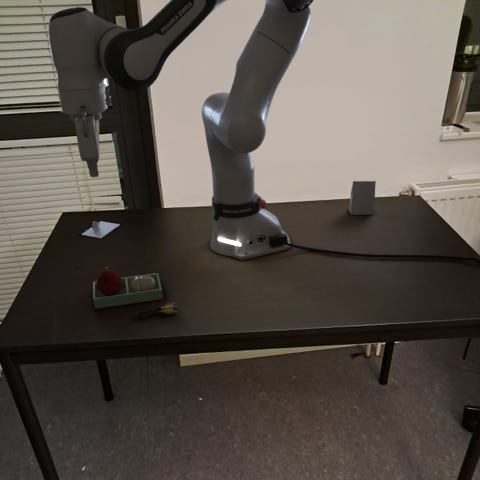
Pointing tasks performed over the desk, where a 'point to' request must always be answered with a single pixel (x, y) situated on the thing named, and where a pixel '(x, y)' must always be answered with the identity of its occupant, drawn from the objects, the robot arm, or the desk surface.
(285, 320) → the desk surface
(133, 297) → the holder
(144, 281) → the cream rounded lump
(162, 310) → the composite cable
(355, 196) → the grey rectangular block
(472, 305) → the desk surface
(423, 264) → the desk surface
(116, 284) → the onion
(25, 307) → the desk surface
